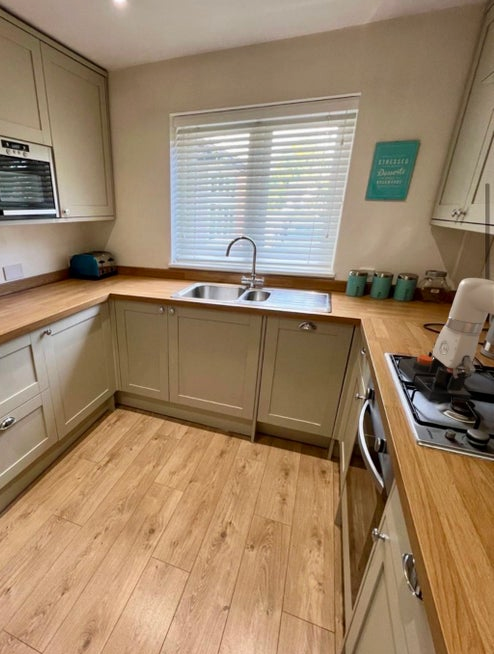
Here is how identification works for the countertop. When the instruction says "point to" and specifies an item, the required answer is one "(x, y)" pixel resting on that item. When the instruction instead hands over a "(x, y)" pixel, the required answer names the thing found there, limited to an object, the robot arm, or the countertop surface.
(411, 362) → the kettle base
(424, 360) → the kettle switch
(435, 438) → the countertop surface
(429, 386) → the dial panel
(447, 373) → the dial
